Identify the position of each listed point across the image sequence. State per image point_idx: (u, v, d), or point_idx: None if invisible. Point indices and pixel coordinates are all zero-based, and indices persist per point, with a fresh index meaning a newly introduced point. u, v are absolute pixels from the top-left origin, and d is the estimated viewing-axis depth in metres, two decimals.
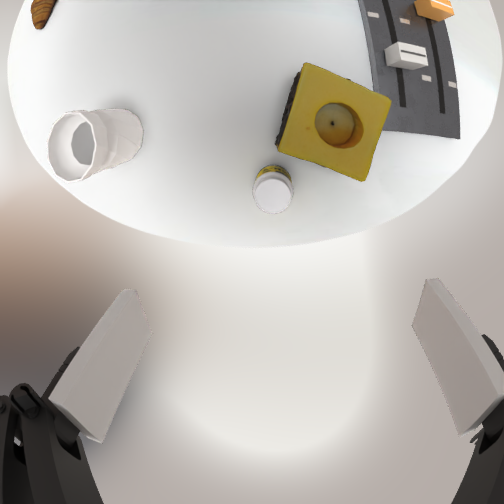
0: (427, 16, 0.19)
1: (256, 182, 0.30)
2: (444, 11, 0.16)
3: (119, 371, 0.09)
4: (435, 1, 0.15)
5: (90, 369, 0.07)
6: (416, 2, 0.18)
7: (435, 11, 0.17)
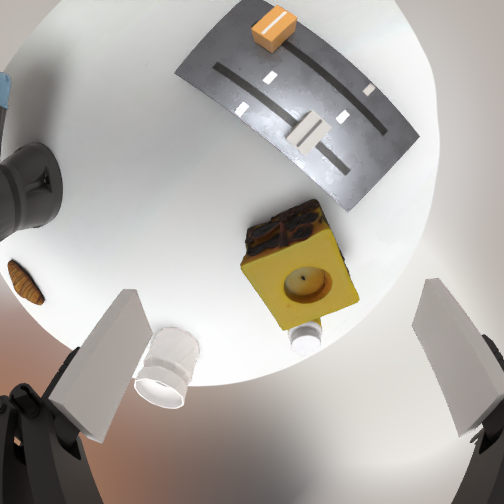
0: (280, 43, 0.22)
1: (289, 337, 0.36)
2: (286, 27, 0.19)
3: (119, 371, 0.09)
4: (267, 29, 0.19)
5: (90, 369, 0.07)
6: (256, 41, 0.22)
7: (279, 37, 0.20)
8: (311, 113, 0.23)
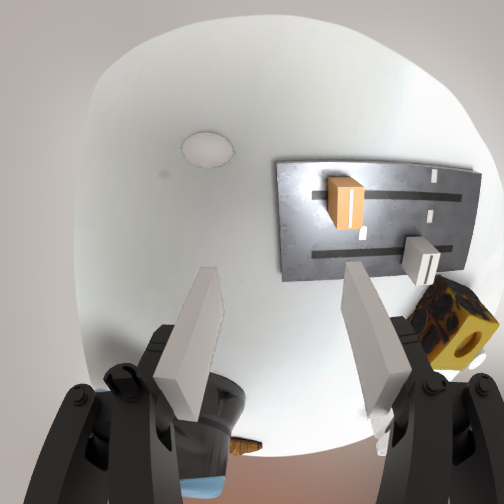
0: None
1: None
2: None
3: (208, 345, 0.10)
4: (350, 219, 0.23)
5: (193, 341, 0.09)
6: None
7: None
8: (423, 257, 0.24)
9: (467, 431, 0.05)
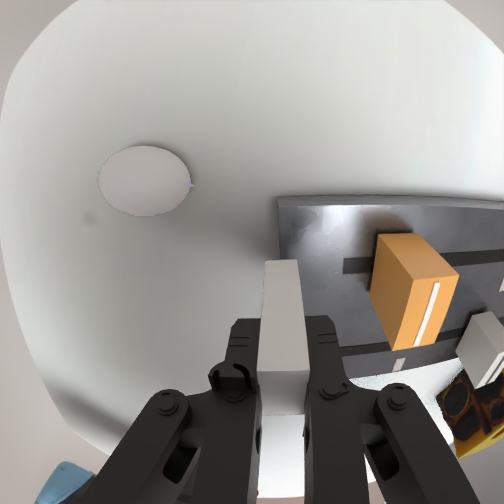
0: None
1: None
2: None
3: None
4: (420, 333, 0.10)
5: None
6: None
7: None
8: (497, 357, 0.11)
9: None
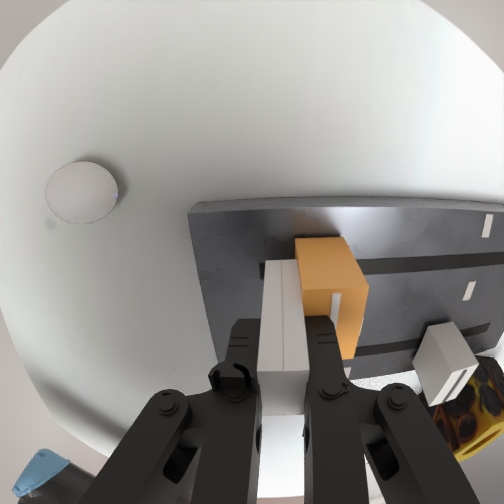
0: None
1: None
2: None
3: None
4: None
5: None
6: None
7: None
8: (451, 375, 0.12)
9: None
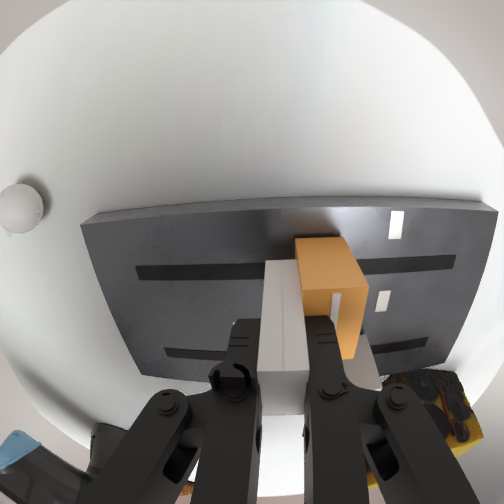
0: None
1: None
2: None
3: None
4: None
5: None
6: None
7: None
8: None
9: None
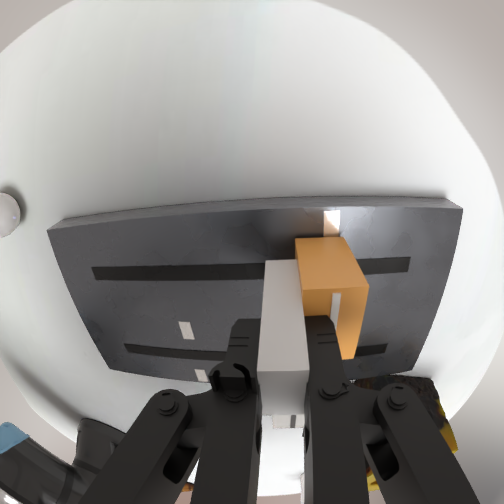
0: None
1: None
2: None
3: None
4: None
5: None
6: None
7: None
8: None
9: None
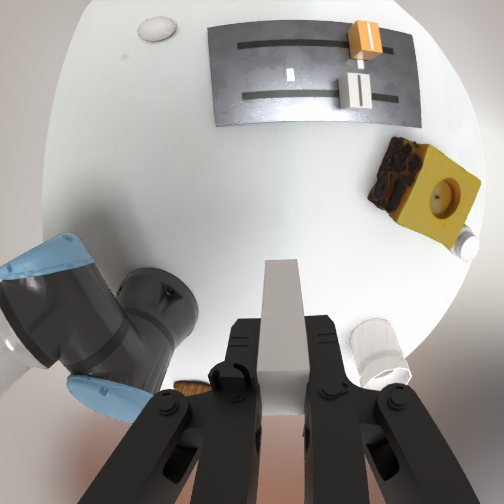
0: None
1: (454, 254, 0.31)
2: (379, 35, 0.19)
3: None
4: (371, 43, 0.20)
5: None
6: (355, 57, 0.24)
7: None
8: (348, 75, 0.22)
9: None
